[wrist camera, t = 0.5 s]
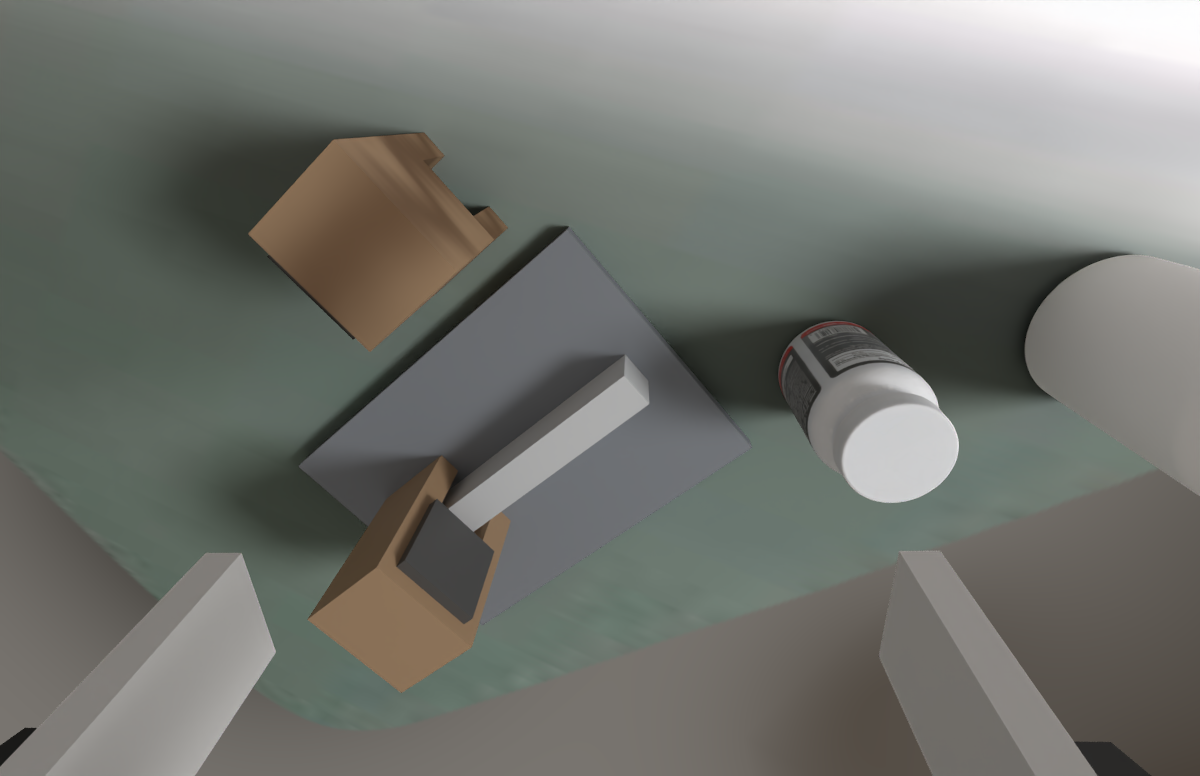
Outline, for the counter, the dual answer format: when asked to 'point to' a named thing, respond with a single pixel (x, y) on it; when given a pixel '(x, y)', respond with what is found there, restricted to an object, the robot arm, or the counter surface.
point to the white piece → (1127, 356)
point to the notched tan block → (373, 232)
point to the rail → (518, 392)
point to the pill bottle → (867, 412)
